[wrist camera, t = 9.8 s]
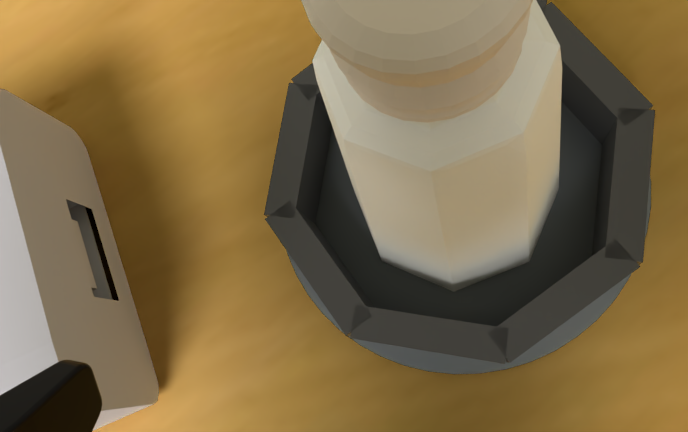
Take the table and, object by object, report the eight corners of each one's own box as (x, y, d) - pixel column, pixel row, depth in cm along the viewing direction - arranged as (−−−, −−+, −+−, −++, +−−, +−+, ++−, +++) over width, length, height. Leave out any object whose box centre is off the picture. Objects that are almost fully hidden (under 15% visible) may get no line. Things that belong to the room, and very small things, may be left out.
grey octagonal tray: (657, 41, 18) (687, -14, 16) (627, 405, 16) (656, 413, 14) (317, 23, 21) (292, -27, 18) (258, 341, 19) (221, 337, 16)
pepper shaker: (358, 103, 19) (204, -222, 8) (554, 94, 18) (660, -293, 7) (352, 291, 18) (166, 187, 7) (561, 293, 17) (701, 176, 6)
